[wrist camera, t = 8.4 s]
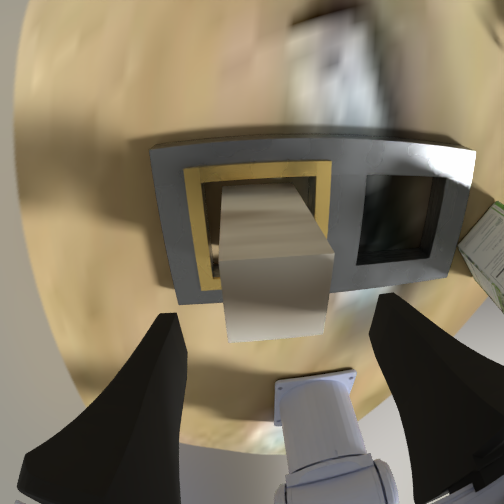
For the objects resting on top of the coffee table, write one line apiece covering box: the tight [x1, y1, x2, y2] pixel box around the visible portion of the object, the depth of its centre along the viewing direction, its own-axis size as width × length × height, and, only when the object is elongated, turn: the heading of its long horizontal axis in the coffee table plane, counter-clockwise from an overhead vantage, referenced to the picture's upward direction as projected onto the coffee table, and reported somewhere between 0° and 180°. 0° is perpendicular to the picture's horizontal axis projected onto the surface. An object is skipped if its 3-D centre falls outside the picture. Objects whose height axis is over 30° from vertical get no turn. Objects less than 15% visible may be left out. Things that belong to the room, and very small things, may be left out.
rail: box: [149, 134, 476, 305], centre depth 18 cm, size 10×20×2 cm, turn 93°
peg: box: [219, 183, 335, 343], centre depth 15 cm, size 4×4×8 cm
